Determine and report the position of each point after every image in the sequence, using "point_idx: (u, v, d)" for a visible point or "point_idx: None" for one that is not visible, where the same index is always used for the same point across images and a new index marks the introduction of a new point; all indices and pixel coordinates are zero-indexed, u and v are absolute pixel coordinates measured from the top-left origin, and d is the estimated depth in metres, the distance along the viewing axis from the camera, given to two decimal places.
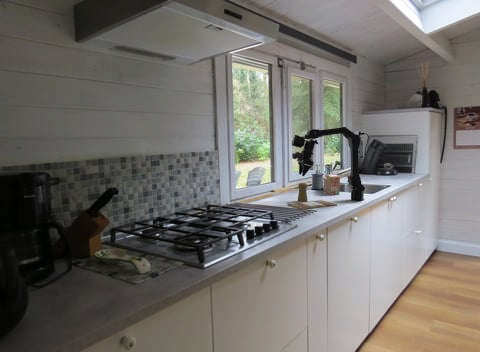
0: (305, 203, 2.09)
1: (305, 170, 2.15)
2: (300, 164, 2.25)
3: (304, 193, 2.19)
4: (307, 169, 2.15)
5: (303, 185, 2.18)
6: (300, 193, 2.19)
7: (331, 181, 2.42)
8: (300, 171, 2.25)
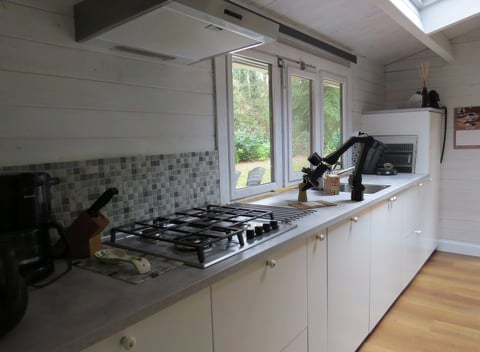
0: (305, 203, 2.09)
1: (306, 187, 2.17)
2: (304, 181, 2.23)
3: (304, 193, 2.19)
4: (308, 187, 2.17)
5: (303, 185, 2.18)
6: (300, 193, 2.19)
7: (331, 181, 2.43)
8: None
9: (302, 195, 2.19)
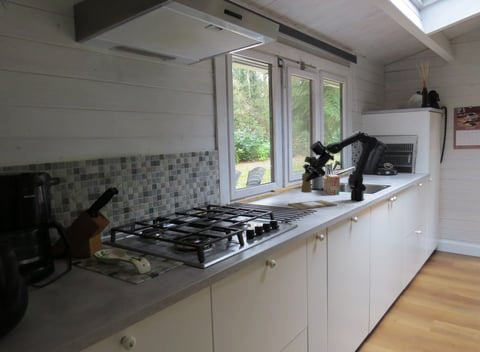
0: (305, 203, 2.09)
1: (311, 177, 2.10)
2: (307, 171, 2.17)
3: (309, 183, 2.12)
4: (314, 177, 2.10)
5: (308, 175, 2.11)
6: (305, 183, 2.12)
7: (331, 181, 2.43)
8: None
9: (307, 185, 2.12)
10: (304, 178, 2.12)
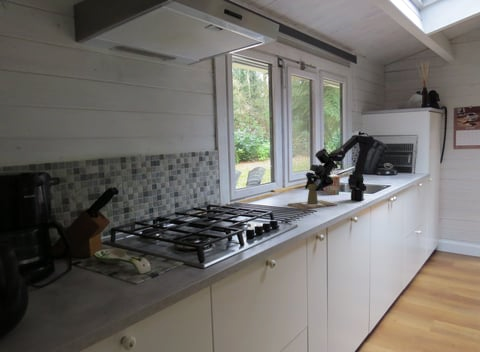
0: (305, 203, 2.09)
1: (321, 186, 2.03)
2: (310, 179, 2.12)
3: (315, 195, 2.06)
4: (323, 186, 2.03)
5: (315, 186, 2.05)
6: (311, 195, 2.06)
7: None
8: (307, 186, 2.11)
9: (314, 197, 2.06)
10: (311, 189, 2.06)
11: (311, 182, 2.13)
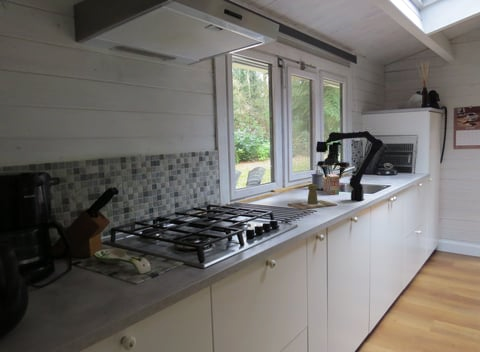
0: (305, 203, 2.09)
1: (342, 172, 2.24)
2: (324, 168, 2.29)
3: (315, 195, 2.06)
4: (343, 171, 2.24)
5: (315, 186, 2.05)
6: (311, 195, 2.06)
7: (331, 181, 2.44)
8: (326, 174, 2.30)
9: (314, 197, 2.06)
10: (311, 190, 2.06)
11: (326, 168, 2.30)
